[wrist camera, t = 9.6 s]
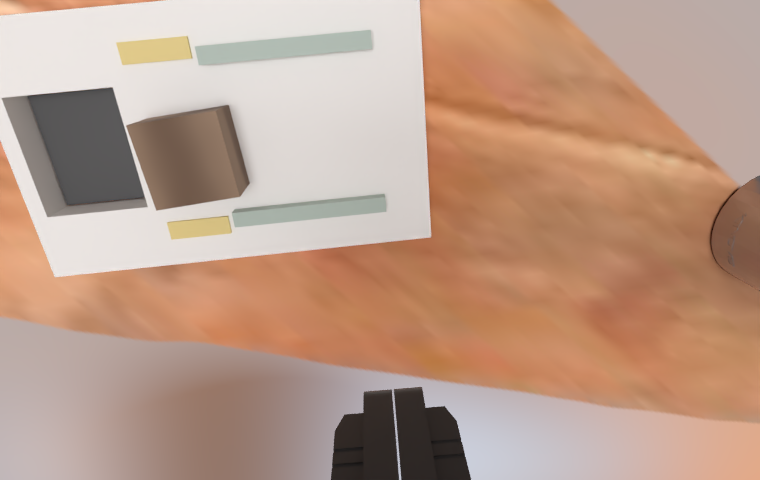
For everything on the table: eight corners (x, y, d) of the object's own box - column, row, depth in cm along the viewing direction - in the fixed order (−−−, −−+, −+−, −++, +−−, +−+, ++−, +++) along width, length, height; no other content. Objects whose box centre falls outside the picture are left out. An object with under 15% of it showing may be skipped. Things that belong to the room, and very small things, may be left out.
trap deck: (412, -17, 29) (420, -25, 26) (425, 224, 35) (433, 241, 32) (-15, 22, 28) (-60, 19, 25) (74, 261, 34) (47, 282, 31)
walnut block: (228, 104, 28) (215, 110, 26) (249, 183, 30) (239, 196, 27) (147, 118, 28) (125, 125, 26) (173, 195, 30) (156, 210, 27)
